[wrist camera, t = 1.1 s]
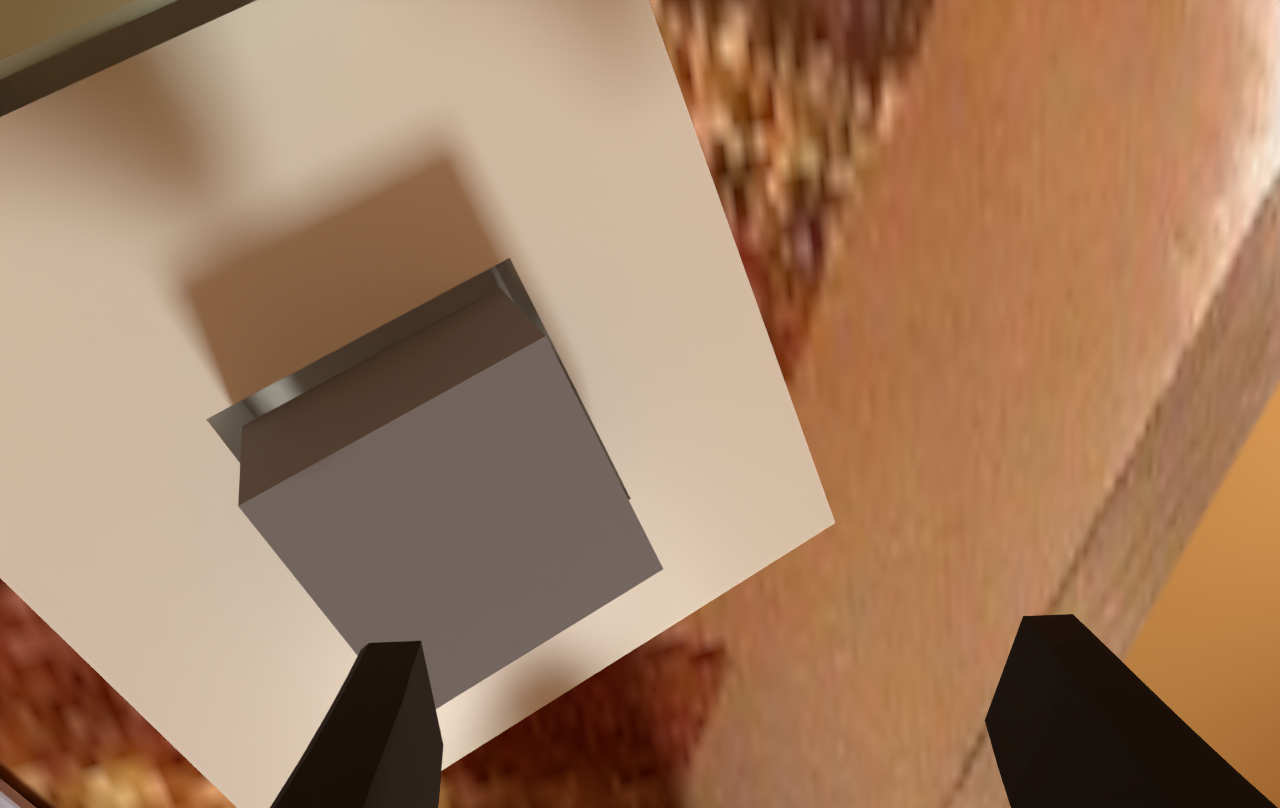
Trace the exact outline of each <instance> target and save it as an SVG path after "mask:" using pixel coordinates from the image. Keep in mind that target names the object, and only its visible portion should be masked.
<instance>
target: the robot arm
mask: <svg viewBox="0 0 1280 808" xmlns="http://www.w3.org/2000/svg"><path fill="white" fill-rule="evenodd" d="M985 723H986V726H987V730H988V733H989V737H990V740H991V744H992V747H993V751H994V754H995V758H996V761H997V765H998V768H999V771H1000V774H1001V778H1002V781H1003V784H1004V787H1005V790H1006V793H1007V797H1008V800H1009V803H1010V806H1011V808H1277V807H1276V806H1275V805H1274V804H1273V803H1272V802H1271V801H1269V800H1268V799H1267V798H1266V797H1265V796H1264V795H1263V794H1262V793H1260V792H1259V791H1258V790H1257V789H1256V788H1255V787H1254V786H1253V785H1251V784H1250V783H1249V782H1248V781H1247V780H1246V779H1245V778H1244V777H1243V776H1242V775H1240V774H1239V773H1238V772H1237V771H1236V770H1235V769H1234V768H1233V767H1232V766H1231V765H1229V763H1227V762H1226V761H1225V760H1224V759H1223V758H1222V757H1221V756H1220V755H1219V754H1218V753H1217V752H1216V751H1215V750H1213V749H1212V748H1211V747H1210V746H1209V745H1208V744H1207V743H1206V742H1205V741H1204V740H1203V739H1202V738H1201V737H1200V736H1198V735H1197V734H1196V733H1195V732H1194V731H1193V730H1192V729H1191V728H1190V727H1189V726H1188V725H1187V724H1186V723H1185V722H1184V721H1182V719H1181V718H1179V717H1178V716H1177V715H1176V714H1175V713H1174V712H1173V711H1172V710H1171V709H1170V708H1169V707H1168V706H1167V705H1166V704H1165V703H1164V702H1163V701H1162V700H1161V699H1160V698H1159V697H1158V696H1157V695H1156V694H1155V693H1154V692H1153V691H1151V690H1150V689H1149V688H1148V687H1147V686H1146V685H1145V684H1144V683H1143V682H1142V681H1141V680H1140V679H1139V678H1138V677H1137V676H1136V675H1135V674H1134V673H1133V672H1132V671H1131V670H1130V669H1129V668H1128V667H1127V666H1126V665H1125V664H1124V663H1123V662H1122V661H1121V660H1120V659H1119V658H1118V657H1117V656H1116V655H1115V654H1114V653H1113V652H1112V651H1110V650H1109V649H1108V648H1107V647H1106V646H1105V645H1104V644H1103V643H1102V642H1101V641H1100V640H1099V639H1098V638H1097V637H1096V636H1095V635H1094V634H1093V633H1092V632H1091V631H1090V630H1089V629H1088V628H1087V627H1086V626H1085V625H1084V624H1083V623H1081V622H1080V621H1079V620H1078V619H1077V618H1076V617H1075V616H1074V615H1073V614H1067V615H1042V616H1023V618H1022V621H1021V624H1020V626H1019V629H1018V632H1017V635H1016V637H1015V640H1014V643H1013V645H1012V648H1011V651H1010V654H1009V656H1008V659H1007V662H1006V664H1005V667H1004V670H1003V673H1002V675H1001V678H1000V681H999V683H998V686H997V689H996V692H995V694H994V697H993V700H992V702H991V705H990V708H989V711H988V713H987V716H986V719H985ZM442 757H443V741H442V736H441V731H440V727H439V722H438V717H437V713H436V708H435V703H434V698H433V694H432V689H431V684H430V680H429V675H428V670H427V666H426V661H425V656H424V651H423V647H422V642H421V641H402V642H377V643H368V644H367V645H366V646H365V647H363V648H362V649H361V650H360V652H359V654H358V656H357V658H356V660H355V662H354V664H353V666H352V668H351V670H350V672H349V674H348V676H347V678H346V679H345V681H344V683H343V685H342V687H341V689H340V691H339V692H338V694H337V696H336V698H335V700H334V702H333V703H332V705H331V707H330V709H329V711H328V712H327V714H326V716H325V718H324V719H323V721H322V723H321V725H320V726H319V728H318V730H317V731H316V733H315V735H314V737H313V738H312V740H311V742H310V743H309V745H308V747H307V749H306V750H305V752H304V754H303V755H302V757H301V759H300V760H299V762H298V764H297V765H296V767H295V768H294V770H293V772H292V773H291V775H290V776H289V778H288V780H287V781H286V783H285V784H284V786H283V787H282V789H281V791H280V792H279V794H278V795H277V797H276V799H275V800H274V802H273V803H272V805H271V807H270V808H438V803H439V793H440V781H441V769H442ZM0 808H36V807H35V806H33V805H32V804H31V803H30V802H28V801H27V800H26V799H25V798H24V797H22V796H21V795H20V794H19V793H17V792H16V791H15V790H14V789H13V788H11V787H10V786H9V785H8V784H6V783H5V782H4V781H3V780H2V779H0Z"/></svg>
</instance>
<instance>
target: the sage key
mask: <svg viewBox="0 0 1280 808" xmlns="http://www.w3.org/2000/svg"><path fill="white" fill-rule="evenodd" d="M175 1H178V0H0V80H1V79H4V78H6V77H8V76H10V75H12V74H15V73H17V72H19V71H21V70H24V69H26V68H28V67H30V66H33V65H35V64H37V63H39V62H41V61H44V60H46V59H48V58H50V57H53V56H55V55H57V54H59V53H62V52H64V51H66V50H68V49H70V48H73V47H75V46H77V45H79V44H82V43H84V42H86V41H88V40H91V39H93V38H95V37H97V36H99V35H102V34H104V33H106V32H108V31H111V30H113V29H115V28H117V27H120V26H122V25H124V24H126V23H128V22H131V21H133V20H135V19H137V18H140V17H142V16H144V15H146V14H149V13H151V12H153V11H155V10H157V9H160V8H162V7H164V6H166V5H169V4H171V3H173V2H175Z"/></svg>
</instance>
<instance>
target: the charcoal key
mask: <svg viewBox="0 0 1280 808" xmlns="http://www.w3.org/2000/svg"><path fill="white" fill-rule="evenodd" d="M238 507H239V508H240V509H241V510H242V512H243V513H244V514H245V515H246V517H247V518H248V519H249V520H250V522H251V523H252V524H253V525H254V527H255V528H256V529H257V530H258V532H259V533H260V534H261V535H262V537H263V538H264V539H265V540H266V542H267V543H268V544H269V545H270V547H271V548H272V549H273V550H274V552H275V553H276V554H277V555H278V557H279V558H280V559H281V560H282V562H283V563H284V564H285V565H286V567H287V568H288V569H289V570H290V572H291V573H292V574H293V576H294V577H295V578H296V579H297V581H298V582H299V583H300V584H301V586H302V587H303V588H304V589H305V591H306V592H307V593H308V594H309V596H310V597H311V598H312V599H313V601H314V602H315V603H316V604H317V606H318V607H319V608H320V609H321V611H322V612H323V613H324V614H325V616H326V617H327V618H328V619H329V621H330V622H331V623H332V624H333V626H334V627H335V628H336V629H337V631H338V632H339V633H340V634H341V636H342V637H343V638H344V639H345V641H346V642H347V643H348V644H349V646H350V647H351V648H352V649H353V651H354V652H355V653H356V654H357V656H358V654H359V652H360V650H361V649H362V648H363V647H365V646H366V645H367V644H368V643H377V642H402V641H421V642H422V647H423V651H424V656H425V661H426V666H427V670H428V675H429V680H430V684H431V689H432V694H433V698H434V703H435V708H436V709H437V708H439V707H441V706H442V705H444V704H445V703H447V702H449V701H450V700H452V699H454V698H455V697H457V696H458V695H460V694H462V693H463V692H465V691H466V690H468V689H470V688H471V687H473V686H475V685H476V684H478V683H479V682H481V681H483V680H484V679H486V678H488V677H489V676H491V675H492V674H494V673H496V672H497V671H499V670H501V669H502V668H504V667H505V666H507V665H509V664H510V663H512V662H514V661H515V660H517V659H518V658H520V657H522V656H523V655H525V654H527V653H528V652H530V651H531V650H533V649H535V648H536V647H538V646H540V645H541V644H543V643H544V642H546V641H548V640H549V639H551V638H553V637H554V636H556V635H557V634H559V633H561V632H562V631H564V630H566V629H567V628H569V627H570V626H572V625H574V624H575V623H577V622H579V621H580V620H582V619H583V618H585V617H587V616H588V615H590V614H591V613H593V612H595V611H596V610H598V609H600V608H601V607H603V606H604V605H606V604H608V603H609V602H611V601H613V600H614V599H616V598H617V597H619V596H621V595H622V594H624V593H626V592H627V591H629V590H630V589H632V588H634V587H635V586H637V585H639V584H640V583H642V582H643V581H645V580H647V579H648V578H650V577H652V576H653V575H655V574H656V573H658V572H660V571H661V570H663V567H662V565H661V563H660V561H659V559H658V557H657V555H656V553H655V551H654V549H653V547H652V545H651V543H650V541H649V539H648V537H647V535H646V533H645V531H644V529H643V527H642V525H641V523H640V522H639V520H638V518H637V516H636V514H635V512H634V510H633V508H632V506H631V504H630V502H629V500H628V498H627V496H626V494H625V492H624V490H623V488H622V486H621V484H620V482H619V480H618V478H617V476H616V474H615V472H614V470H613V468H612V466H611V464H610V462H609V460H608V458H607V456H606V454H605V452H604V450H603V448H602V446H601V444H600V442H599V440H598V438H597V436H596V434H595V432H594V430H593V428H592V426H591V424H590V422H589V420H588V418H587V416H586V414H585V412H584V411H583V409H582V407H581V405H580V403H579V401H578V399H577V397H576V395H575V393H574V391H573V389H572V387H571V385H570V383H569V381H568V379H567V377H566V375H565V373H564V371H563V369H562V367H561V365H560V363H559V361H558V359H557V357H556V355H555V353H554V351H553V349H552V347H551V345H550V343H549V341H548V339H547V337H546V336H545V335H544V333H543V332H542V331H541V330H540V329H539V328H538V327H537V326H536V325H535V324H534V323H533V322H532V321H531V320H530V319H529V318H528V317H527V316H526V315H525V313H524V312H523V311H522V310H521V309H520V308H519V307H518V306H517V305H516V304H515V303H514V302H513V301H512V300H511V299H510V298H509V297H508V296H507V294H506V293H505V292H504V291H503V290H502V289H501V288H498V289H496V290H494V291H493V292H491V293H489V294H487V295H485V296H483V297H481V298H480V299H478V300H476V301H474V302H472V303H470V304H468V305H466V306H465V307H463V308H461V309H459V310H457V311H455V312H453V313H452V314H450V315H448V316H446V317H444V318H442V319H440V320H439V321H437V322H435V323H433V324H431V325H429V326H427V327H426V328H424V329H422V330H420V331H418V332H416V333H414V334H413V335H411V336H409V337H407V338H405V339H403V340H401V341H399V342H398V343H396V344H394V345H392V346H390V347H388V348H386V349H385V350H383V351H381V352H379V353H377V354H375V355H373V356H372V357H370V358H368V359H366V360H364V361H362V362H360V363H359V364H357V365H355V366H353V367H351V368H349V369H347V370H346V371H344V372H342V373H340V374H338V375H336V376H334V377H332V378H331V379H329V380H327V381H325V382H323V383H321V384H319V385H318V386H316V387H314V388H312V389H310V390H308V391H306V392H305V393H303V394H301V395H299V396H297V397H295V398H293V399H292V400H290V401H288V402H286V403H284V404H282V405H280V406H279V407H277V408H275V409H273V410H271V411H269V412H267V413H265V414H264V415H262V416H260V417H258V418H256V419H254V420H252V421H251V422H249V423H247V424H245V425H243V426H242V439H241V459H240V479H239V498H238Z"/></svg>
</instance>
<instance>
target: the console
mask: <svg viewBox="0 0 1280 808" xmlns="http://www.w3.org/2000/svg"><path fill="white" fill-rule="evenodd" d="M498 288H501V289H502V290H503V291H504V292H505V293H506V294H507V296H508V297H509V298H510V299H511V300H512V301H513V302H514V303H515V304H516V305H517V306H518V307H519V308H520V309H521V310H522V311H523V312H524V313H525V315H526V316H527V317H528V318H529V319H530V320H531V321H532V322H533V323H534V324H535V325H536V326H537V327H538V328H539V329H540V330H541V331H542V332H543V333H544V335H545V336H546V337H547V339H548V341H549V343H550V345H551V347H552V349H553V351H554V353H555V355H556V357H557V359H558V361H559V363H560V365H561V367H562V369H563V371H564V373H565V375H566V377H567V379H568V381H569V383H570V385H571V387H572V389H573V391H574V393H575V395H576V397H577V399H578V401H579V403H580V405H581V407H582V409H583V411H584V412H585V414H586V416H587V418H588V420H589V422H590V424H591V426H592V428H593V430H594V432H595V434H596V436H597V438H598V440H599V442H600V444H601V446H602V448H603V450H604V452H605V454H606V456H607V458H608V460H609V462H610V464H611V466H612V468H613V470H614V472H615V474H616V476H617V478H618V480H619V482H620V484H621V486H622V488H623V490H624V492H625V494H626V496H627V498H628V500H629V502H630V504H631V506H632V508H633V510H634V512H635V514H636V516H637V518H638V520H639V522H640V523H641V525H642V527H643V529H644V531H645V533H646V535H647V537H648V539H649V541H650V543H651V545H652V547H653V549H654V551H655V553H656V555H657V557H658V559H659V561H660V563H661V565H662V567H663V570H661V571H660V572H658V573H656V574H655V575H653V576H652V577H650V578H648V579H647V580H645V581H643V582H642V583H640V584H639V585H637V586H635V587H634V588H632V589H630V590H629V591H627V592H626V593H624V594H622V595H621V596H619V597H617V598H616V599H614V600H613V601H611V602H609V603H608V604H606V605H604V606H603V607H601V608H600V609H598V610H596V611H595V612H593V613H591V614H590V615H588V616H587V617H585V618H583V619H582V620H580V621H579V622H577V623H575V624H574V625H572V626H570V627H569V628H567V629H566V630H564V631H562V632H561V633H559V634H557V635H556V636H554V637H553V638H551V639H549V640H548V641H546V642H544V643H543V644H541V645H540V646H538V647H536V648H535V649H533V650H531V651H530V652H528V653H527V654H525V655H523V656H522V657H520V658H518V659H517V660H515V661H514V662H512V663H510V664H509V665H507V666H505V667H504V668H502V669H501V670H499V671H497V672H496V673H494V674H492V675H491V676H489V677H488V678H486V679H484V680H483V681H481V682H479V683H478V684H476V685H475V686H473V687H471V688H470V689H468V690H466V691H465V692H463V693H462V694H460V695H458V696H457V697H455V698H454V699H452V700H450V701H449V702H447V703H445V704H444V705H442V706H441V707H439V708H437V709H436V713H437V717H438V722H439V727H440V731H441V736H442V741H443V757H442V769H441V771H442V770H443V769H445V768H446V767H448V766H450V765H451V764H453V763H454V762H456V761H458V760H459V759H461V758H462V757H464V756H465V755H467V754H469V753H470V752H472V751H473V750H475V749H477V748H478V747H480V746H481V745H483V744H485V743H486V742H488V741H489V740H491V739H492V738H494V737H496V736H497V735H499V734H500V733H502V732H504V731H505V730H507V729H508V728H510V727H512V726H513V725H515V724H516V723H518V722H520V721H521V720H523V719H524V718H526V717H527V716H529V715H531V714H532V713H534V712H535V711H537V710H539V709H540V708H542V707H543V706H545V705H547V704H548V703H550V702H551V701H553V700H554V699H556V698H558V697H559V696H561V695H562V694H564V693H566V692H567V691H569V690H570V689H572V688H574V687H575V686H577V685H578V684H580V683H581V682H583V681H585V680H586V679H588V678H589V677H591V676H593V675H594V674H596V673H597V672H599V671H601V670H602V669H604V668H605V667H607V666H609V665H610V664H612V663H613V662H615V661H616V660H618V659H620V658H621V657H623V656H624V655H626V654H628V653H629V652H631V651H632V650H634V649H636V648H637V647H639V646H640V645H642V644H643V643H645V642H647V641H648V640H650V639H651V638H653V637H655V636H656V635H658V634H659V633H661V632H663V631H664V630H666V629H667V628H669V627H670V626H672V625H674V624H675V623H677V622H678V621H680V620H682V619H683V618H685V617H686V616H688V615H690V614H691V613H693V612H694V611H696V610H698V609H699V608H701V607H702V606H704V605H705V604H707V603H709V602H710V601H712V600H713V599H715V598H717V597H718V596H720V595H721V594H723V593H725V592H726V591H728V590H729V589H731V588H732V587H734V586H736V585H737V584H739V583H740V582H742V581H744V580H745V579H747V578H748V577H750V576H752V575H753V574H755V573H756V572H758V571H759V570H761V569H763V568H764V567H766V566H767V565H769V564H771V563H772V562H774V561H775V560H777V559H779V558H780V557H782V556H783V555H785V554H787V553H788V552H790V551H791V550H793V549H794V548H796V547H798V546H799V545H801V544H802V543H804V542H806V541H807V540H809V539H810V538H812V537H814V536H815V535H817V534H818V533H820V532H821V531H823V530H825V529H826V528H828V527H829V526H831V525H833V524H834V523H835V521H834V518H833V515H832V513H831V510H830V507H829V504H828V501H827V499H826V496H825V493H824V490H823V487H822V485H821V482H820V479H819V476H818V473H817V471H816V468H815V465H814V462H813V459H812V457H811V454H810V451H809V448H808V445H807V443H806V440H805V437H804V434H803V431H802V429H801V426H800V423H799V420H798V417H797V415H796V412H795V409H794V406H793V403H792V401H791V398H790V395H789V392H788V389H787V387H786V384H785V381H784V378H783V375H782V373H781V370H780V367H779V364H778V362H777V359H776V356H775V353H774V350H773V348H772V345H771V342H770V339H769V336H768V334H767V331H766V328H765V325H764V322H763V320H762V317H761V314H760V311H759V308H758V306H757V303H756V300H755V297H754V294H753V292H752V289H751V286H750V283H749V280H748V278H747V275H746V272H745V269H744V266H743V264H742V261H741V258H740V255H739V252H738V250H737V247H736V244H735V241H734V238H733V236H732V233H731V230H730V227H729V224H728V222H727V219H726V216H725V213H724V210H723V208H722V205H721V202H720V199H719V196H718V194H717V191H716V188H715V185H714V182H713V180H712V177H711V174H710V171H709V168H708V166H707V163H706V160H705V157H704V154H703V152H702V149H701V146H700V143H699V140H698V138H697V135H696V132H695V129H694V126H693V124H692V121H691V118H690V115H689V112H688V110H687V107H686V104H685V101H684V98H683V96H682V93H681V90H680V87H679V84H678V82H677V79H676V76H675V73H674V71H673V68H672V65H671V62H670V59H669V57H668V54H667V51H666V48H665V45H664V43H663V40H662V37H661V34H660V31H659V29H658V26H657V23H656V20H655V17H654V15H653V12H652V9H651V6H650V3H649V1H648V0H178V1H175V2H173V3H171V4H169V5H166V6H164V7H162V8H160V9H157V10H155V11H153V12H151V13H149V14H146V15H144V16H142V17H140V18H137V19H135V20H133V21H131V22H128V23H126V24H124V25H122V26H120V27H117V28H115V29H113V30H111V31H108V32H106V33H104V34H102V35H99V36H97V37H95V38H93V39H91V40H88V41H86V42H84V43H82V44H79V45H77V46H75V47H73V48H70V49H68V50H66V51H64V52H62V53H59V54H57V55H55V56H53V57H50V58H48V59H46V60H44V61H41V62H39V63H37V64H35V65H33V66H30V67H28V68H26V69H24V70H21V71H19V72H17V73H15V74H12V75H10V76H8V77H6V78H4V79H1V80H0V578H1V579H2V580H3V581H4V582H5V583H6V584H7V585H8V586H9V587H10V588H11V589H12V590H13V591H14V592H15V593H16V594H17V595H18V596H19V597H20V598H21V599H22V600H23V601H24V602H26V603H27V604H28V605H29V606H30V607H31V608H32V609H33V610H34V611H35V612H36V613H37V614H38V615H39V616H40V617H41V618H42V619H43V620H44V621H45V622H46V623H47V624H48V625H49V626H50V627H51V628H52V629H53V630H54V631H55V632H56V633H57V634H58V635H60V636H61V637H62V638H63V639H64V640H65V641H66V642H67V643H68V644H69V645H70V646H71V647H72V648H73V649H74V650H75V651H76V652H77V653H78V654H79V655H80V656H81V657H82V658H83V659H84V660H85V661H86V662H87V663H88V664H89V665H90V666H91V667H92V668H94V669H95V670H96V671H97V672H98V673H99V674H100V675H101V676H102V677H103V678H104V679H105V680H106V681H107V682H108V683H109V684H110V685H111V686H112V687H113V688H114V689H115V690H116V691H117V692H118V693H119V694H120V695H121V696H122V697H123V698H124V699H125V700H126V701H128V702H129V703H130V704H131V705H132V706H133V707H134V708H135V709H136V710H137V711H138V712H139V713H140V714H141V715H142V716H143V717H144V718H145V719H146V720H147V721H148V722H149V723H150V724H151V725H152V726H153V727H154V728H155V729H156V730H157V731H158V732H159V733H160V734H162V735H163V736H164V737H165V738H166V739H167V740H168V741H169V742H170V743H171V744H172V745H173V746H174V747H175V748H176V749H177V750H178V751H179V752H180V753H181V754H182V755H183V756H184V757H185V758H186V759H187V760H188V761H189V762H190V763H191V764H192V765H193V766H194V767H196V768H197V769H198V770H199V771H200V772H201V773H202V774H203V775H204V776H205V777H206V778H207V779H208V780H209V781H210V782H211V783H212V784H213V785H214V786H215V787H216V788H217V789H218V790H219V791H220V792H221V793H222V794H223V795H224V796H225V797H226V798H227V799H228V800H230V801H231V802H232V803H233V804H234V805H235V806H236V807H237V808H270V807H271V805H272V803H273V802H274V800H275V799H276V797H277V795H278V794H279V792H280V791H281V789H282V787H283V786H284V784H285V783H286V781H287V780H288V778H289V776H290V775H291V773H292V772H293V770H294V768H295V767H296V765H297V764H298V762H299V760H300V759H301V757H302V755H303V754H304V752H305V750H306V749H307V747H308V745H309V743H310V742H311V740H312V738H313V737H314V735H315V733H316V731H317V730H318V728H319V726H320V725H321V723H322V721H323V719H324V718H325V716H326V714H327V712H328V711H329V709H330V707H331V705H332V703H333V702H334V700H335V698H336V696H337V694H338V692H339V691H340V689H341V687H342V685H343V683H344V681H345V679H346V678H347V676H348V674H349V672H350V670H351V668H352V666H353V664H354V662H355V660H356V658H357V654H356V653H355V652H354V651H353V649H352V648H351V647H350V646H349V644H348V643H347V642H346V641H345V639H344V638H343V637H342V636H341V634H340V633H339V632H338V631H337V629H336V628H335V627H334V626H333V624H332V623H331V622H330V621H329V619H328V618H327V617H326V616H325V614H324V613H323V612H322V611H321V609H320V608H319V607H318V606H317V604H316V603H315V602H314V601H313V599H312V598H311V597H310V596H309V594H308V593H307V592H306V591H305V589H304V588H303V587H302V586H301V584H300V583H299V582H298V581H297V579H296V578H295V577H294V576H293V574H292V573H291V572H290V570H289V569H288V568H287V567H286V565H285V564H284V563H283V562H282V560H281V559H280V558H279V557H278V555H277V554H276V553H275V552H274V550H273V549H272V548H271V547H270V545H269V544H268V543H267V542H266V540H265V539H264V538H263V537H262V535H261V534H260V533H259V532H258V530H257V529H256V528H255V527H254V525H253V524H252V523H251V522H250V520H249V519H248V518H247V517H246V515H245V514H244V513H243V512H242V510H241V509H240V508H239V507H238V498H239V479H240V459H241V439H242V426H243V425H245V424H247V423H249V422H251V421H252V420H254V419H256V418H258V417H260V416H262V415H264V414H265V413H267V412H269V411H271V410H273V409H275V408H277V407H279V406H280V405H282V404H284V403H286V402H288V401H290V400H292V399H293V398H295V397H297V396H299V395H301V394H303V393H305V392H306V391H308V390H310V389H312V388H314V387H316V386H318V385H319V384H321V383H323V382H325V381H327V380H329V379H331V378H332V377H334V376H336V375H338V374H340V373H342V372H344V371H346V370H347V369H349V368H351V367H353V366H355V365H357V364H359V363H360V362H362V361H364V360H366V359H368V358H370V357H372V356H373V355H375V354H377V353H379V352H381V351H383V350H385V349H386V348H388V347H390V346H392V345H394V344H396V343H398V342H399V341H401V340H403V339H405V338H407V337H409V336H411V335H413V334H414V333H416V332H418V331H420V330H422V329H424V328H426V327H427V326H429V325H431V324H433V323H435V322H437V321H439V320H440V319H442V318H444V317H446V316H448V315H450V314H452V313H453V312H455V311H457V310H459V309H461V308H463V307H465V306H466V305H468V304H470V303H472V302H474V301H476V300H478V299H480V298H481V297H483V296H485V295H487V294H489V293H491V292H493V291H494V290H496V289H498Z"/></svg>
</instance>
